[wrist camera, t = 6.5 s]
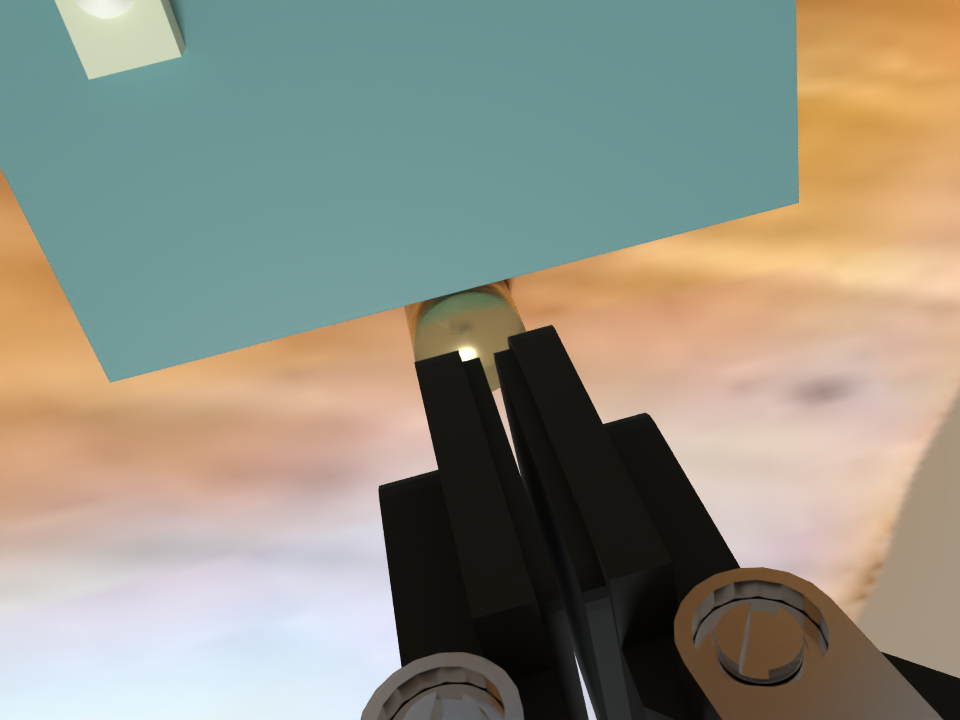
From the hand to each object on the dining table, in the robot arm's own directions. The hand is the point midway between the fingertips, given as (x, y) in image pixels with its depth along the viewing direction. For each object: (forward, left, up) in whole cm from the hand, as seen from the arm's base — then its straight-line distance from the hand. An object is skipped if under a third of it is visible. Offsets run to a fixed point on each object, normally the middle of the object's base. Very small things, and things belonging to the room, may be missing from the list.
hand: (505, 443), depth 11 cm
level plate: (-5, 0, -12) cm, 13 cm away
